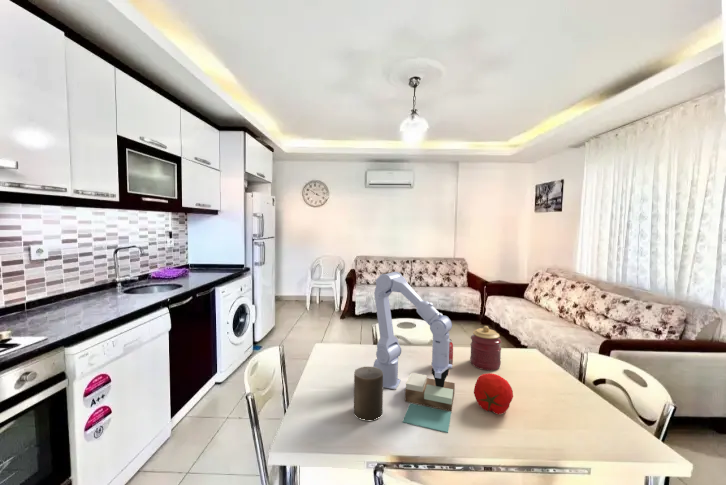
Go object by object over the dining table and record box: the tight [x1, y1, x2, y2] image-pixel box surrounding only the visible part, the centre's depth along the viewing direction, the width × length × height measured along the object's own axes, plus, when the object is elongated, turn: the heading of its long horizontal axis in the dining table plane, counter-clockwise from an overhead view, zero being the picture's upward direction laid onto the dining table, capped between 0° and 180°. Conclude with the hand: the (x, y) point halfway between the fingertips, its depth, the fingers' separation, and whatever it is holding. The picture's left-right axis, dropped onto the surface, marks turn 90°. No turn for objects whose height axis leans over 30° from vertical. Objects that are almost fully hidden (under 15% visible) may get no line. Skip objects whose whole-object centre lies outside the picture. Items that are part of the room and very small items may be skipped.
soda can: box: [449, 338, 454, 365], centre depth 139 cm, size 7×7×12 cm
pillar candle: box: [353, 366, 384, 421], centre depth 104 cm, size 10×10×15 cm
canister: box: [469, 325, 503, 371], centre depth 141 cm, size 13×13×18 cm
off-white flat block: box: [405, 372, 428, 392], centre depth 115 cm, size 9×6×2 cm, turn 159°
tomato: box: [473, 372, 514, 415], centre depth 107 cm, size 13×13×13 cm
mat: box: [402, 402, 452, 434], centre depth 102 cm, size 14×11×1 cm
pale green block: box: [424, 384, 454, 406], centre depth 107 cm, size 9×6×2 cm, turn 69°
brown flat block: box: [404, 377, 456, 412], centre depth 114 cm, size 16×12×4 cm
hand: (439, 389), depth 110 cm, fingers closed
